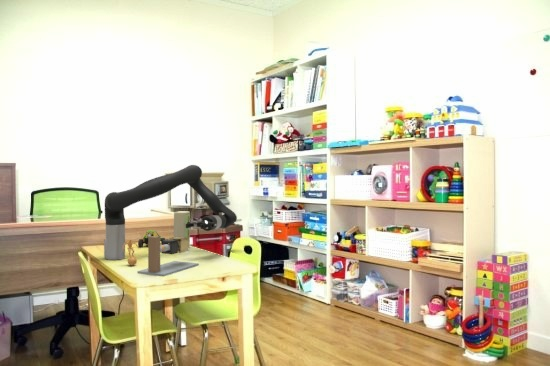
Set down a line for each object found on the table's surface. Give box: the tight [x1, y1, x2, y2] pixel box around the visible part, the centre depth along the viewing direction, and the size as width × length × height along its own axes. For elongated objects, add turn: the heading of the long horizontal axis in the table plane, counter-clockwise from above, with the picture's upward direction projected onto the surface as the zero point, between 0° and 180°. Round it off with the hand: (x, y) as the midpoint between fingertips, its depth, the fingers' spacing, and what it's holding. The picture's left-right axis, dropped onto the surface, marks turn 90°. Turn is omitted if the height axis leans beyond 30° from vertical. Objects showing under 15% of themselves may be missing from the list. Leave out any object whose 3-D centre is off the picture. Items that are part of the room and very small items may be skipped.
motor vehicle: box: [137, 230, 166, 248], centre depth 273 cm, size 12×19×11 cm, turn 178°
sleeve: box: [168, 236, 189, 254], centre depth 214 cm, size 6×6×6 cm
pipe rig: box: [137, 235, 200, 277], centre depth 208 cm, size 14×26×16 cm, turn 156°
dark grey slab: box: [160, 238, 178, 255], centre depth 208 cm, size 6×4×6 cm
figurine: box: [122, 239, 140, 267], centre depth 215 cm, size 8×6×12 cm
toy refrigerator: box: [173, 210, 191, 249], centre depth 264 cm, size 8×7×21 cm
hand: (193, 226), depth 225 cm, fingers open, 8 cm apart
